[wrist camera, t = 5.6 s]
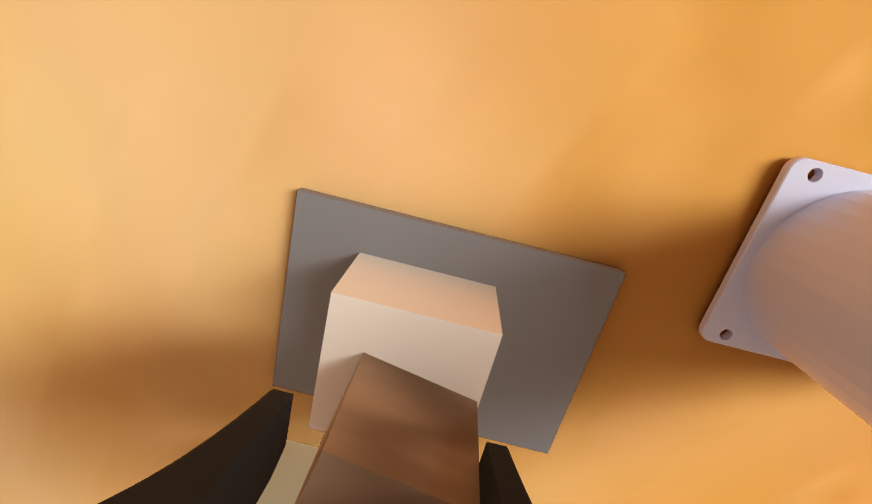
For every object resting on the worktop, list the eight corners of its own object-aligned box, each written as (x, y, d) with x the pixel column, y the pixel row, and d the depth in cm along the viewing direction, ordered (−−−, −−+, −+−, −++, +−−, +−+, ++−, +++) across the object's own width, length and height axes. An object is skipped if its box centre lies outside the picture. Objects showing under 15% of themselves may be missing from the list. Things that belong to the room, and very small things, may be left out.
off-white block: (495, 286, 18) (502, 335, 14) (460, 397, 20) (458, 464, 16) (360, 252, 18) (331, 291, 14) (338, 366, 20) (308, 427, 16)
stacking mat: (621, 269, 18) (625, 273, 17) (545, 446, 21) (547, 453, 21) (302, 188, 18) (297, 190, 17) (276, 379, 21) (272, 385, 21)
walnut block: (477, 401, 15) (480, 515, 11) (426, 483, 17) (411, 611, 13) (363, 352, 15) (321, 450, 11) (321, 440, 16) (271, 557, 12)
